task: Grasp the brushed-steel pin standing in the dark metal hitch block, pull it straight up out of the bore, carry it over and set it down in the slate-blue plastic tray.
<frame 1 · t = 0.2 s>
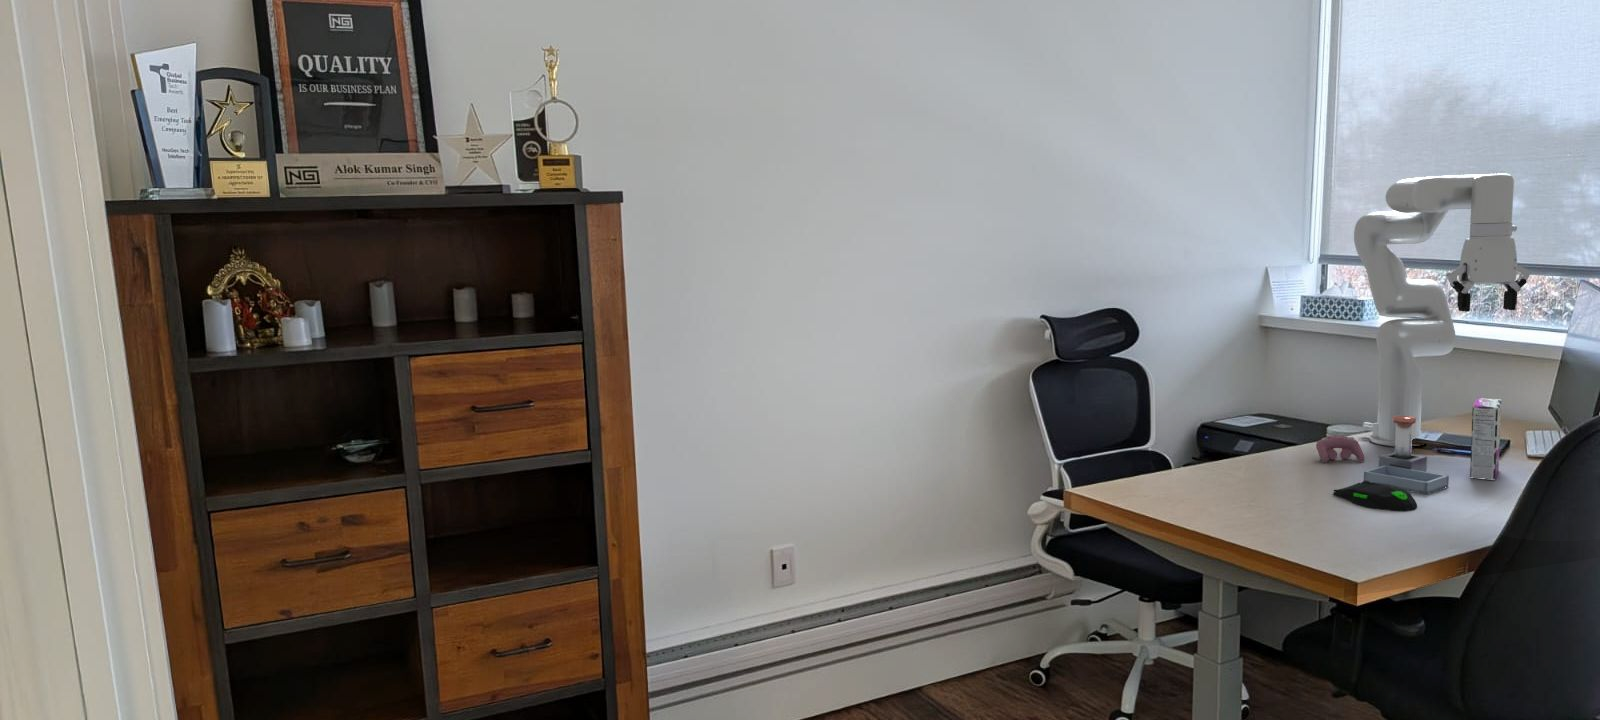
hand: (1486, 310, 226), 37 cm above the table, tool pointing down, fingers open, 9 cm apart
video game controller: (1339, 461, 247), on the table
hitch block: (1402, 473, 233), on the table
computer mouse: (1374, 503, 213), on the table
tray: (1405, 484, 224), on the table
candy bar box: (1483, 475, 230), on the table
pin: (1403, 445, 232), in the hitch block
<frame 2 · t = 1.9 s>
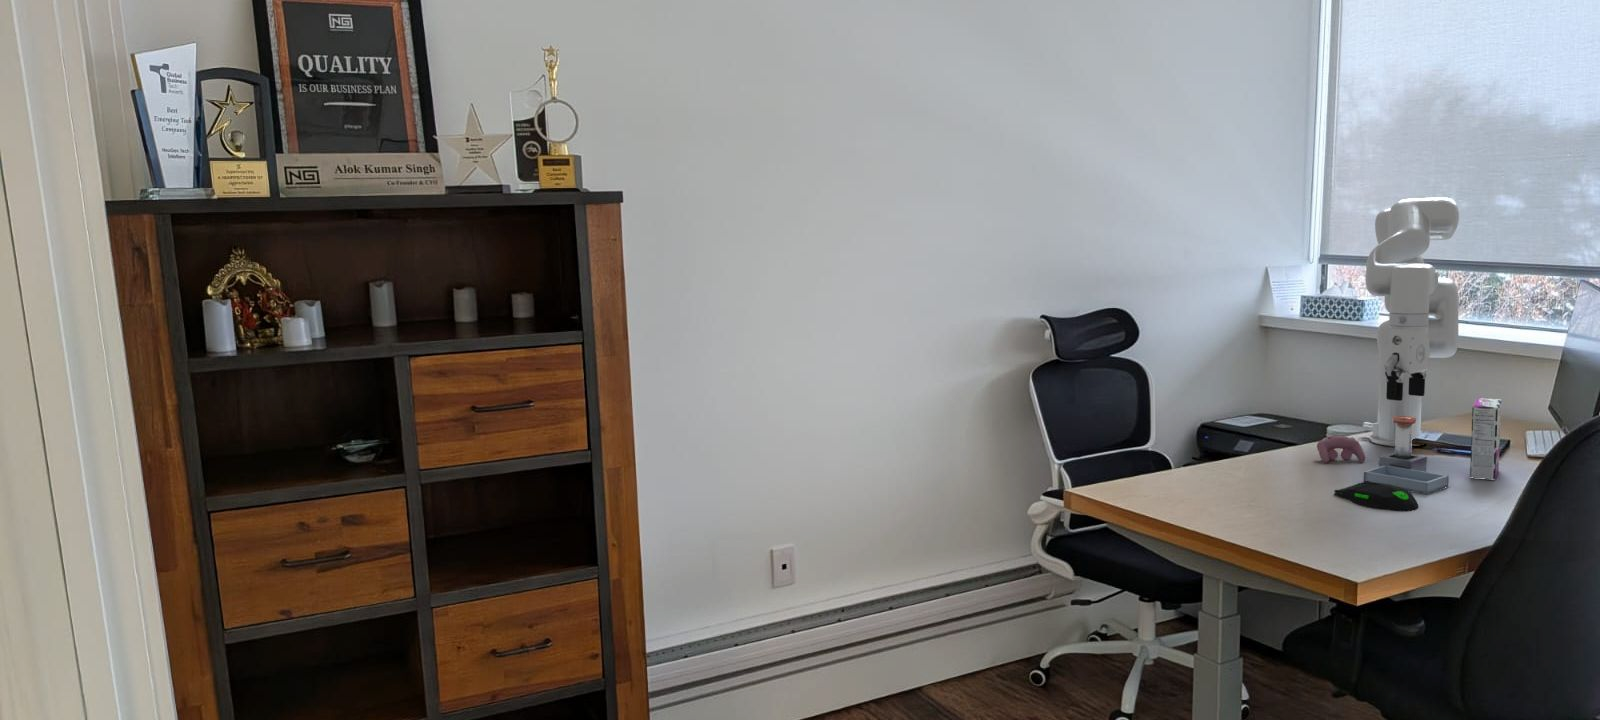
hand: (1405, 397, 230), 18 cm above the table, tool pointing down, fingers open, 9 cm apart
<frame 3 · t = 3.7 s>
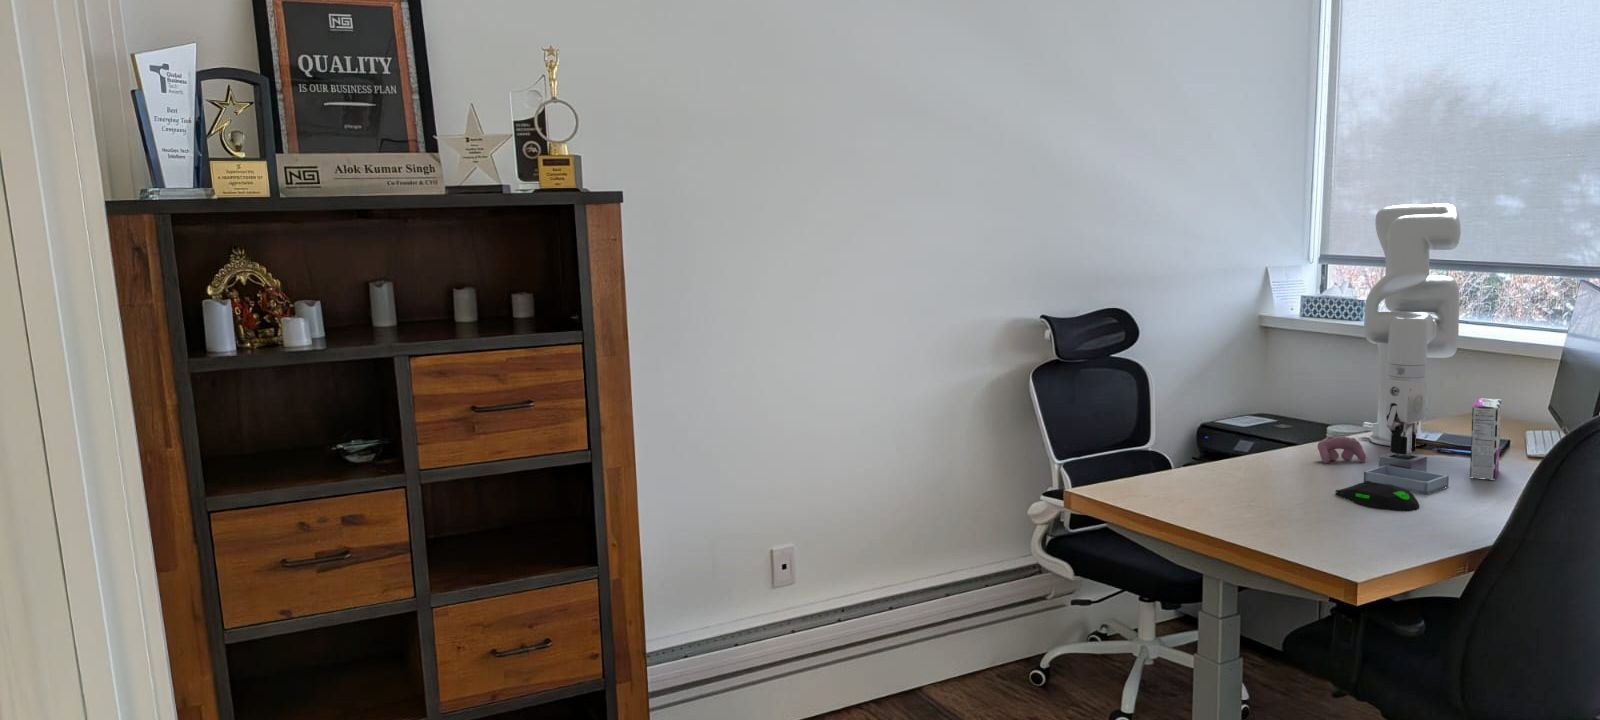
hand: (1403, 451, 232), 5 cm above the table, tool pointing down, fingers closed on pin, 3 cm apart
pin: (1403, 445, 232), in the hitch block, touching gripper
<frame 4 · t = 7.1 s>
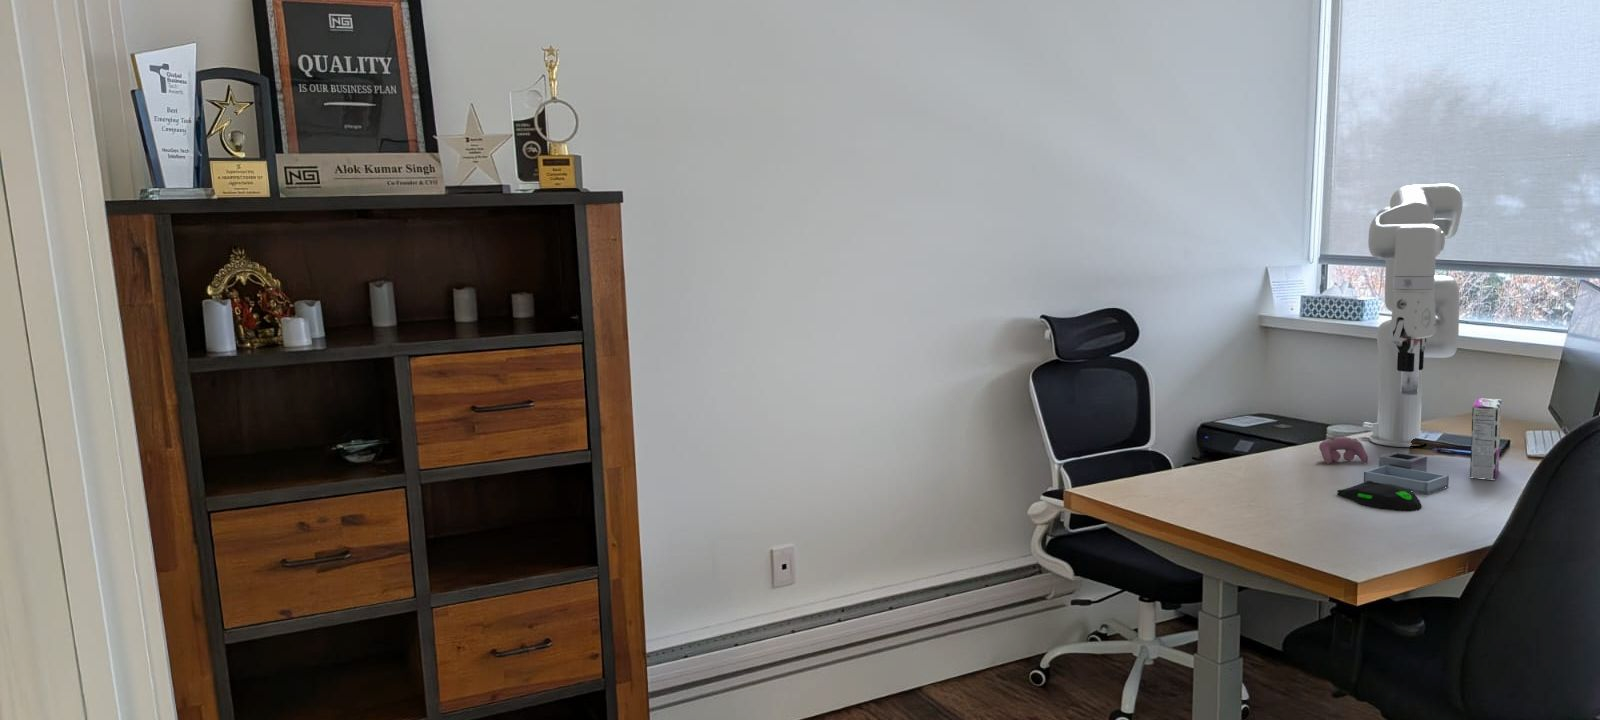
hand: (1410, 369, 220), 25 cm above the table, tool pointing down, fingers closed on pin, 3 cm apart
pin: (1410, 363, 220), point 27 cm above the table, touching gripper
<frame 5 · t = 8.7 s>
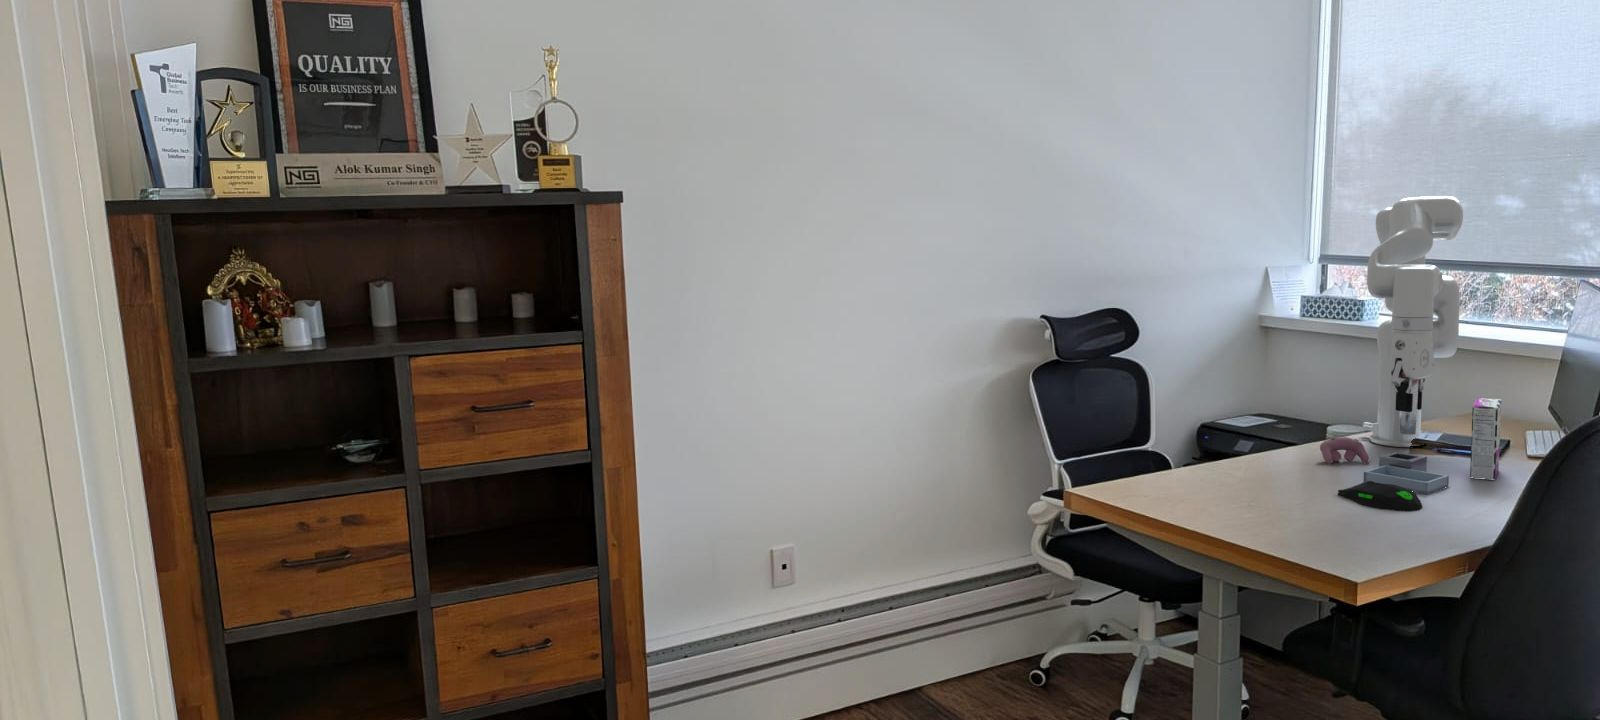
hand: (1408, 409, 221), 17 cm above the table, tool pointing down, fingers closed on pin, 3 cm apart
pin: (1408, 403, 221), point 18 cm above the table, touching gripper
when the fingers open (9 cm above the table, at t = 10.4 s): pin drops 3 cm, resting on tray.
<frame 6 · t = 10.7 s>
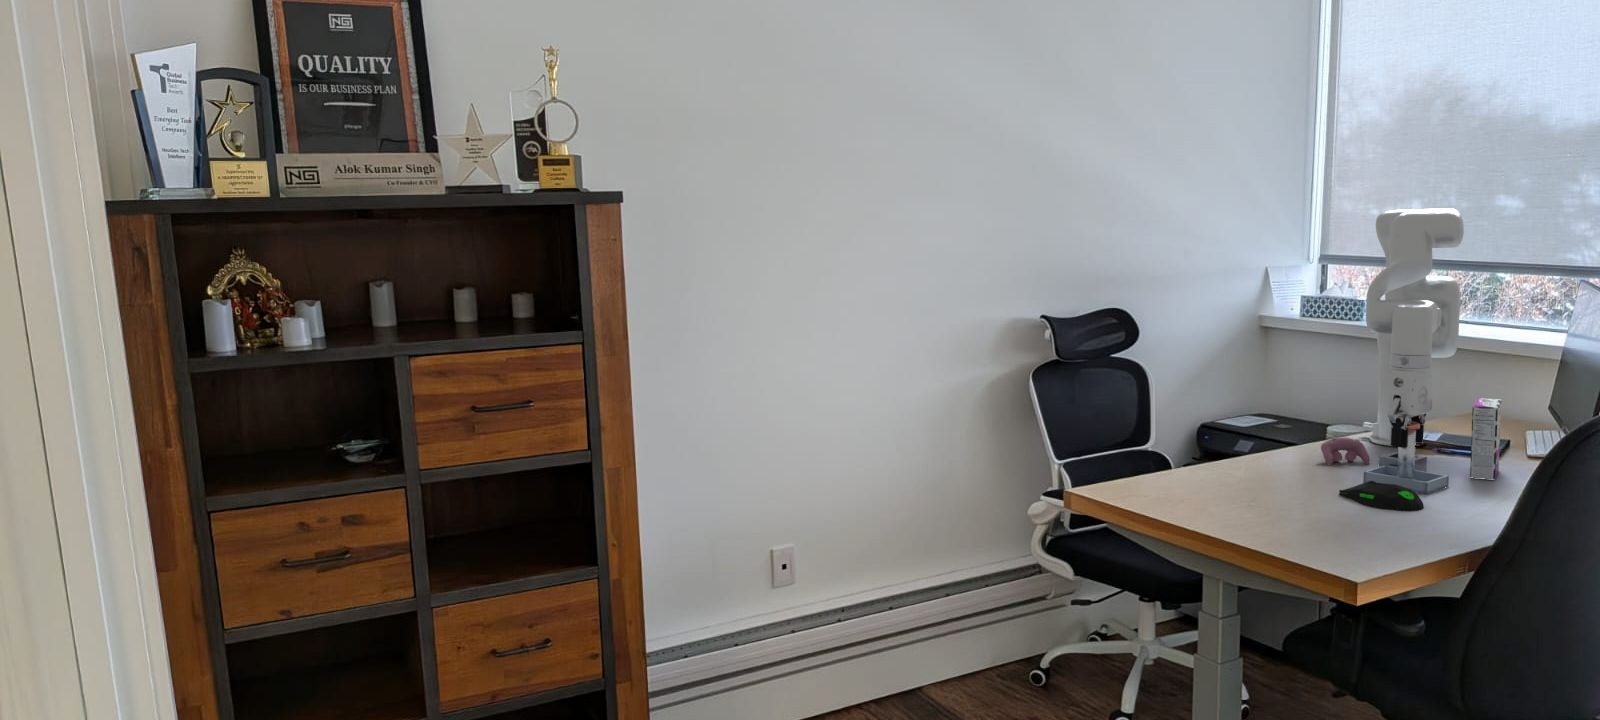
hand: (1406, 443, 222), 9 cm above the table, tool pointing down, fingers open, 6 cm apart
pin: (1406, 452, 223), in the tray, point 7 cm above the table
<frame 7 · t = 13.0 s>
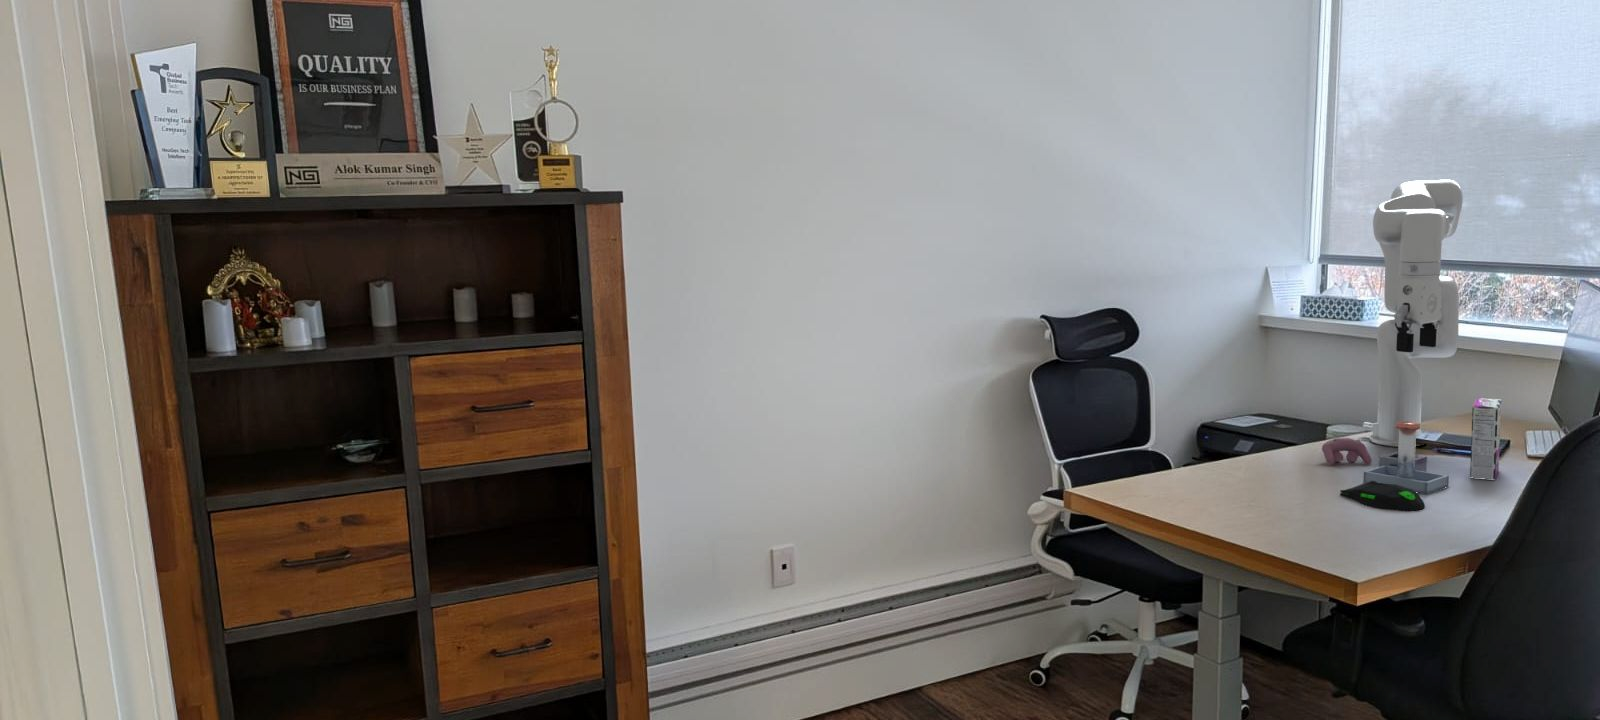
hand: (1416, 349, 223), 29 cm above the table, tool pointing down, fingers open, 9 cm apart
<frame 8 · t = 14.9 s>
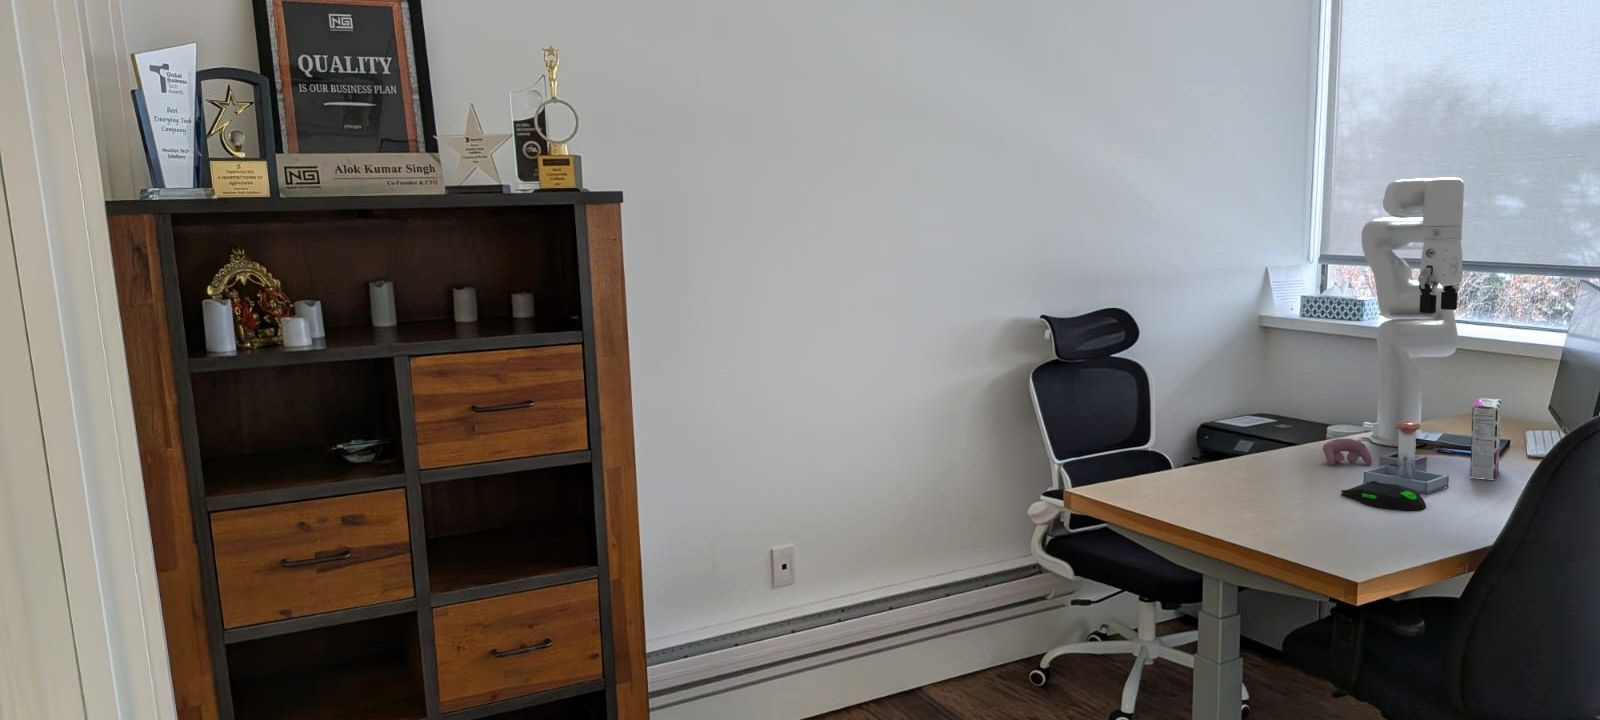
hand: (1438, 311, 231), 36 cm above the table, tool pointing down, fingers open, 9 cm apart
at the end: pin inside the target area on the tray (0.2 cm from its centre), point 7.1 cm above the tray's base; pin touching tray; the gripper is holding nothing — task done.
